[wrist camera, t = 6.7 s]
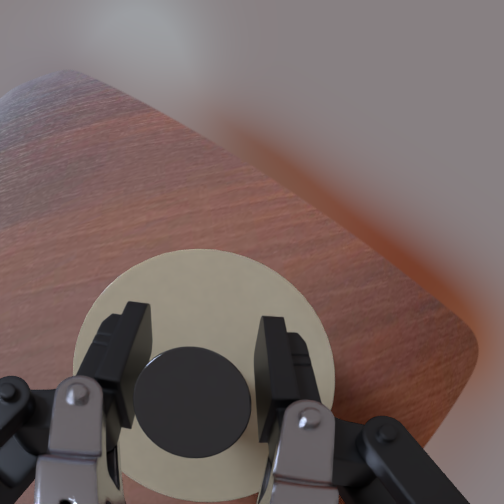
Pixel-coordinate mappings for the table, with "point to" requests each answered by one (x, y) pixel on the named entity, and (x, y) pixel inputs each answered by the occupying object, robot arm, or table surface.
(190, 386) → the lid
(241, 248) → the table surface
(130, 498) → the table surface
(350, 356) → the table surface
